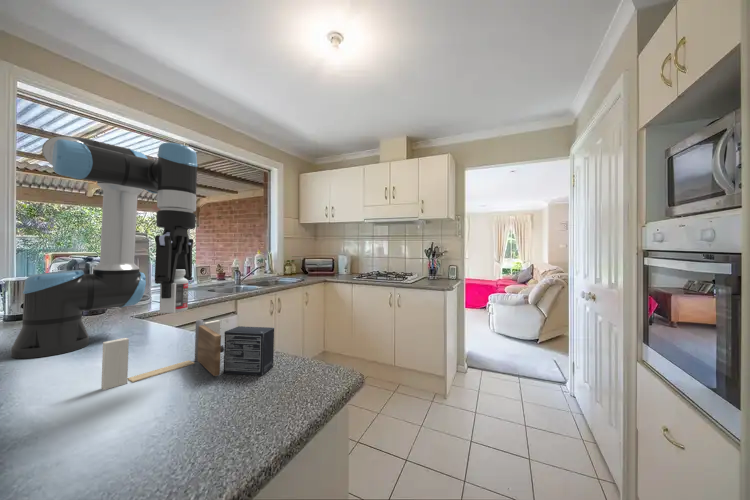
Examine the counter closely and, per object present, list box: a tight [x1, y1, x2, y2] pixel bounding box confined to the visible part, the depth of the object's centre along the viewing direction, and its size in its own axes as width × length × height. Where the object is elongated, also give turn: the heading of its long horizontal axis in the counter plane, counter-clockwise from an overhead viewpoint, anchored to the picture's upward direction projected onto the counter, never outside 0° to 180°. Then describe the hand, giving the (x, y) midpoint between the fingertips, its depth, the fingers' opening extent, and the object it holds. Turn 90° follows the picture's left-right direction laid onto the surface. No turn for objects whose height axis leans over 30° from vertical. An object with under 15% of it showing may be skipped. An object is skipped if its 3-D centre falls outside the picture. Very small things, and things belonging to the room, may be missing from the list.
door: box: [198, 325, 224, 377], centre depth 72 cm, size 2×14×10 cm, turn 47°
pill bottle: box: [159, 269, 189, 314], centre depth 65 cm, size 5×5×10 cm
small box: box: [223, 325, 275, 376], centre depth 72 cm, size 11×6×10 cm, turn 84°
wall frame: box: [100, 319, 221, 391], centre depth 71 cm, size 3×25×11 cm, turn 149°
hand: (174, 309), depth 65 cm, fingers closed on pill bottle, 5 cm apart
